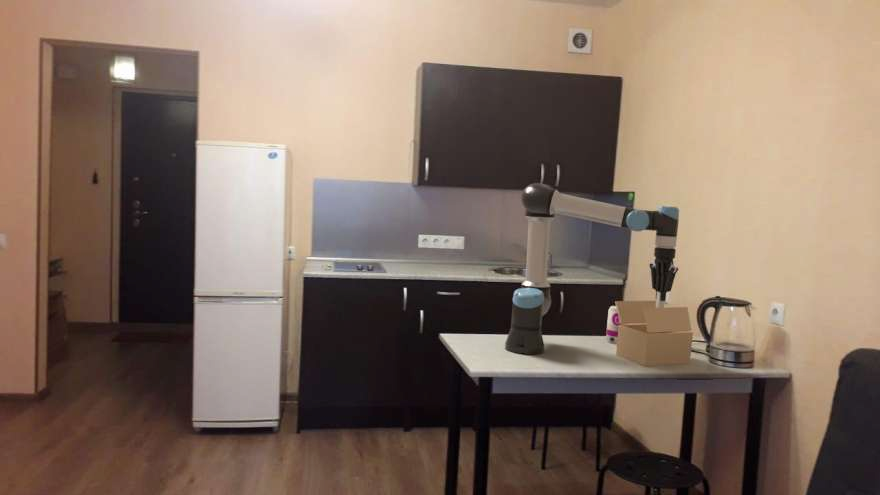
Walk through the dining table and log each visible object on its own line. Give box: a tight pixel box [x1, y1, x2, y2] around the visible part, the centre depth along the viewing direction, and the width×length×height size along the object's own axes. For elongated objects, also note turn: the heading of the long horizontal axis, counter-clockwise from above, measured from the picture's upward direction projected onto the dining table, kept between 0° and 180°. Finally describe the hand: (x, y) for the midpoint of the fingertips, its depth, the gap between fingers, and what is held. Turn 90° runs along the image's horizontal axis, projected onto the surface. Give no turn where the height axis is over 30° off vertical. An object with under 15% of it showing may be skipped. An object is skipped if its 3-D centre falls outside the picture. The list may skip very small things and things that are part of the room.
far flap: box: [614, 300, 656, 325], centre depth 254 cm, size 21×9×1 cm
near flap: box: [644, 306, 692, 332], centre depth 239 cm, size 21×9×1 cm
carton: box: [615, 323, 694, 367], centre depth 246 cm, size 22×16×12 cm
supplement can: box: [605, 305, 628, 345], centre depth 272 cm, size 8×8×15 cm
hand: (659, 308), depth 243 cm, fingers closed
